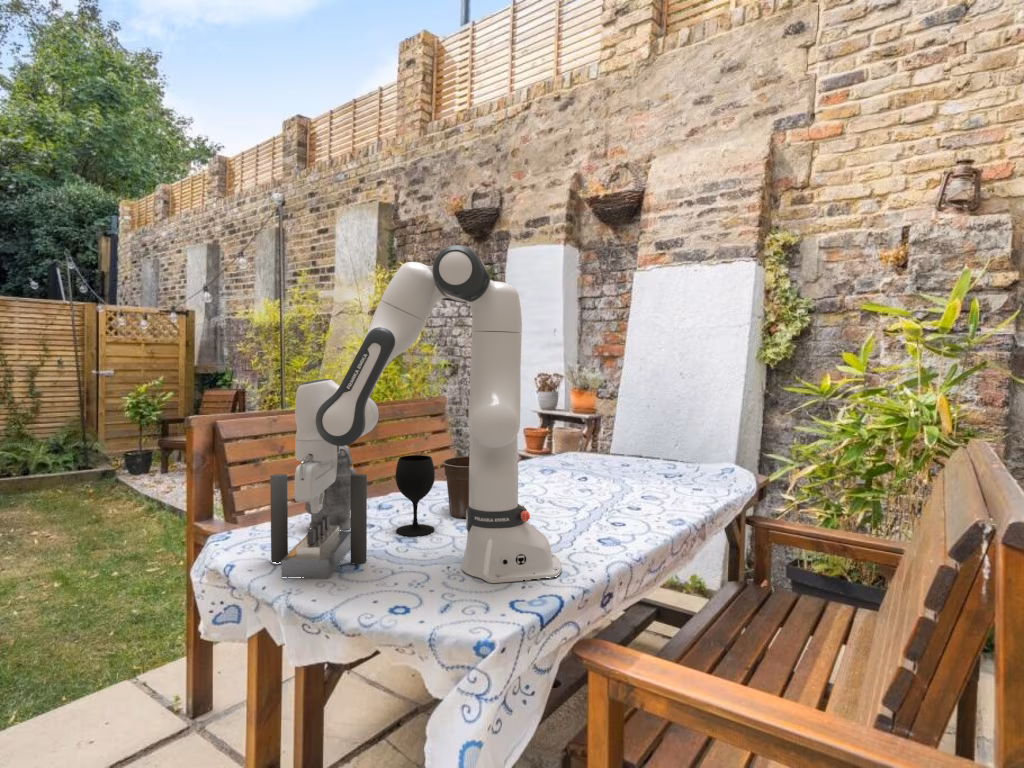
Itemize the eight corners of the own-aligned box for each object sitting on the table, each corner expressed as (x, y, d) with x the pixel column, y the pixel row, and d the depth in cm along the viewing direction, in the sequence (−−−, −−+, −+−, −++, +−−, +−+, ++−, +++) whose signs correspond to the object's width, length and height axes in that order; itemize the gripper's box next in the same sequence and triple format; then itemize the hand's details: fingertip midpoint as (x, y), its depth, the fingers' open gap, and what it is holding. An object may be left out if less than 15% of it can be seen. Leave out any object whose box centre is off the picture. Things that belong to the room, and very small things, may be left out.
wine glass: (440, 527, 161) (440, 455, 160) (425, 538, 151) (425, 462, 150) (406, 524, 164) (406, 453, 163) (388, 535, 154) (388, 460, 153)
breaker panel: (351, 547, 144) (351, 523, 144) (329, 578, 124) (328, 550, 124) (310, 547, 144) (310, 523, 143) (281, 578, 124) (281, 550, 123)
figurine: (299, 530, 157) (298, 438, 156) (345, 519, 168) (344, 433, 167) (318, 537, 151) (317, 442, 150) (364, 525, 162) (364, 436, 160)
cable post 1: (290, 559, 135) (289, 474, 134) (284, 564, 132) (283, 477, 131) (274, 559, 135) (273, 473, 134) (268, 564, 132) (267, 477, 131)
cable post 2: (368, 558, 136) (368, 474, 135) (364, 564, 132) (364, 477, 131) (352, 558, 136) (352, 474, 135) (348, 564, 132) (348, 477, 131)
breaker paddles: (329, 526, 140) (329, 515, 140) (313, 544, 127) (312, 531, 127) (324, 526, 140) (324, 515, 140) (307, 544, 127) (307, 531, 127)
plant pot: (462, 525, 164) (462, 468, 163) (432, 512, 176) (432, 459, 175) (507, 515, 174) (507, 461, 173) (475, 504, 186) (475, 454, 185)
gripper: (316, 459, 121) (317, 525, 121) (341, 444, 141) (342, 500, 142) (285, 459, 120) (286, 525, 121) (315, 444, 141) (315, 500, 142)
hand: (316, 511), depth 132 cm, fingers closed
